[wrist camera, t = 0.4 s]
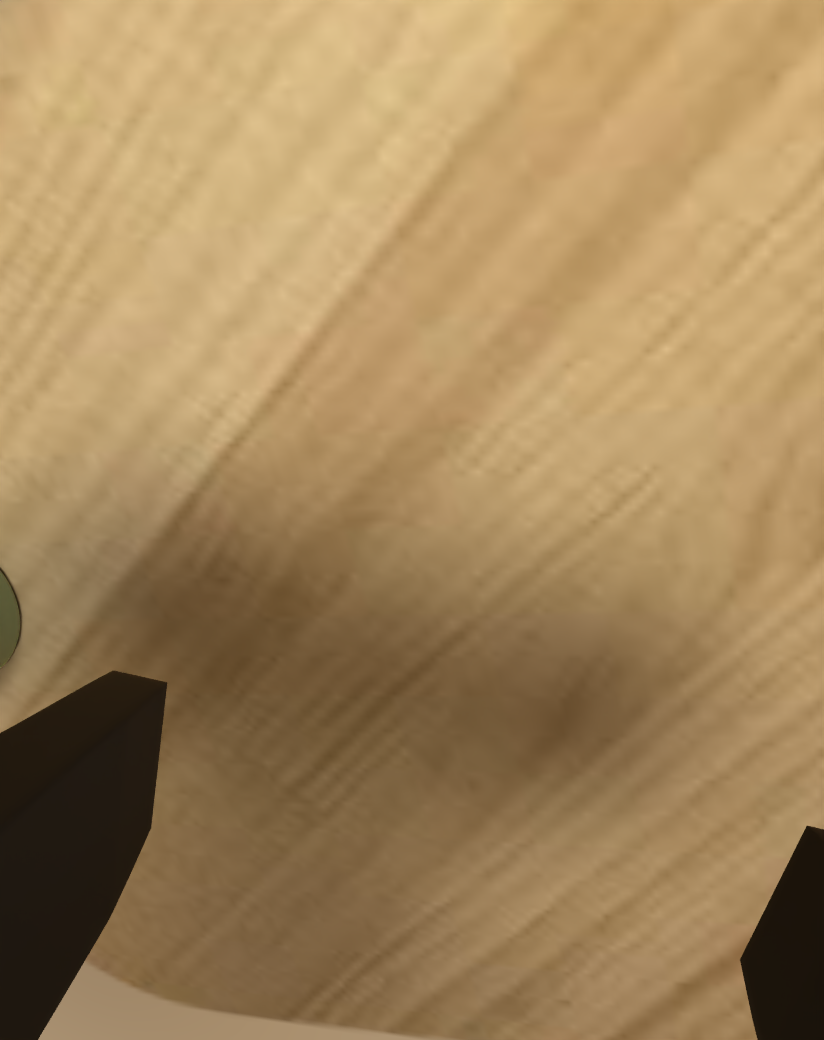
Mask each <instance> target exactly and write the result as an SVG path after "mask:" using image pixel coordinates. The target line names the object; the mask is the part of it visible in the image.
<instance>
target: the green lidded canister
mask: <svg viewBox="0 0 824 1040" xmlns="http://www.w3.org/2000/svg"><path fill="white" fill-rule="evenodd" d="M19 631H20V615H19V609H18V605H17V601H16V598H15V595H14V593H13V591H12V588H11V586H10V585H9V583H8V581H7V579H6V578H5V576H4V575H3V573H2V572H1V571H0V668H1V667H2V666H4V665H5V664H6V662H7V661H8V660H9V658H10V657H11V655H12V653H13V651H14V649H15V647H16V644H17V641H18V638H19Z"/></svg>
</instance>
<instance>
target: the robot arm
mask: <svg viewBox="0 0 824 1040" xmlns="http://www.w3.org/2000/svg"><path fill="white" fill-rule="evenodd" d="M166 689H167V682H163V681H158V680H154V679H149V678H145V677H140V676H136V675H131V674H127V673H122V672H118V671H111V672H109V673H108V674H106V675H104V676H102V677H100V678H98V679H96V680H94V681H93V682H91V683H89V684H87V685H85V686H84V687H82V688H80V689H78V690H76V691H75V692H73V693H71V694H69V695H68V696H66V697H64V698H62V699H61V700H59V701H57V702H55V703H53V704H52V705H50V706H48V707H46V708H45V709H43V710H41V711H39V712H38V713H36V714H34V715H32V716H30V717H29V718H27V719H25V720H23V721H22V722H20V723H18V724H16V725H14V726H13V727H11V728H9V729H7V730H5V731H3V732H2V733H0V1040H38V1039H39V1037H40V1035H41V1034H42V1032H43V1030H44V1028H45V1027H46V1025H47V1023H48V1022H49V1020H50V1018H51V1017H52V1015H53V1013H54V1012H55V1010H56V1008H57V1007H58V1005H59V1003H60V1002H61V1000H62V998H63V997H64V995H65V993H66V992H67V990H68V988H69V986H70V985H71V983H72V981H73V980H74V978H75V976H76V975H77V973H78V971H79V970H80V968H81V966H82V965H83V963H84V961H85V959H86V958H87V956H88V954H89V953H90V951H91V949H92V948H93V946H94V944H95V943H96V941H97V939H98V937H99V936H100V934H101V932H102V930H103V929H104V927H105V925H106V924H107V922H108V920H109V918H110V917H111V914H112V912H113V910H114V908H115V906H116V904H117V902H118V900H119V897H120V895H121V893H122V891H123V889H124V887H125V885H126V882H127V880H128V878H129V876H130V874H131V872H132V869H133V867H134V865H135V863H136V860H137V858H138V856H139V854H140V851H141V849H142V847H143V845H144V842H145V840H146V838H147V836H148V834H149V831H150V829H151V824H152V815H153V806H154V797H155V788H156V779H157V770H158V761H159V752H160V743H161V734H162V725H163V716H164V707H165V698H166ZM740 961H741V966H742V971H743V976H744V981H745V985H746V990H747V995H748V1000H749V1005H750V1009H751V1014H752V1018H753V1023H754V1027H755V1031H756V1035H757V1039H758V1040H824V829H819V828H815V827H810V826H807V827H806V829H805V831H804V833H803V835H802V837H801V839H800V841H799V843H798V845H797V847H796V849H795V851H794V853H793V855H792V857H791V859H790V861H789V863H788V865H787V867H786V869H785V871H784V873H783V875H782V877H781V879H780V881H779V883H778V885H777V887H776V889H775V891H774V893H773V895H772V897H771V899H770V901H769V903H768V905H767V907H766V909H765V911H764V913H763V915H762V917H761V919H760V921H759V923H758V925H757V927H756V929H755V931H754V933H753V935H752V937H751V939H750V941H749V943H748V945H747V947H746V949H745V951H744V953H743V955H742V957H741V959H740Z"/></svg>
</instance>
